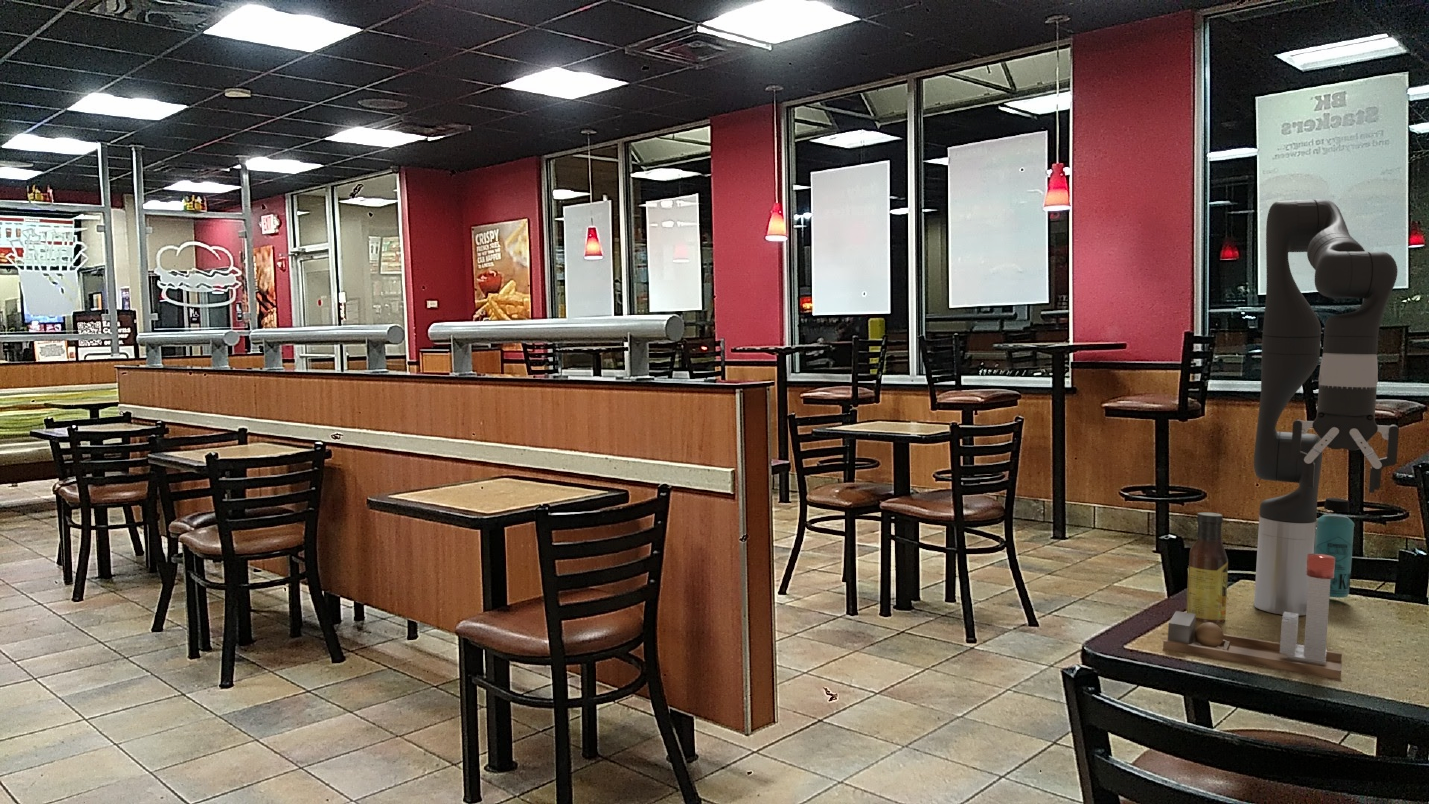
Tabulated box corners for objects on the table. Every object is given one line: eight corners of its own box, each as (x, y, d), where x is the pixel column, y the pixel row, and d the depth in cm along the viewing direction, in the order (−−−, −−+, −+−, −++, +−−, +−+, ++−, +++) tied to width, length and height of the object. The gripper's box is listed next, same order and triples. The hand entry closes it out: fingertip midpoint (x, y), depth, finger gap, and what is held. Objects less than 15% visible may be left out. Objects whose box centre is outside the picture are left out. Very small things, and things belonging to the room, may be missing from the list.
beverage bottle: (1303, 595, 198) (1309, 495, 196) (1337, 596, 198) (1344, 495, 196) (1321, 605, 192) (1328, 501, 190) (1357, 606, 191) (1364, 502, 190)
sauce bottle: (1229, 632, 174) (1236, 518, 172) (1190, 629, 175) (1197, 516, 173) (1218, 621, 180) (1225, 511, 179) (1181, 618, 181) (1187, 509, 180)
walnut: (1191, 642, 163) (1192, 618, 163) (1217, 643, 163) (1218, 619, 162) (1200, 650, 159) (1201, 625, 159) (1226, 652, 159) (1228, 627, 158)
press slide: (1328, 658, 155) (1335, 553, 154) (1327, 672, 149) (1334, 562, 148) (1281, 651, 159) (1288, 548, 157) (1278, 663, 153) (1285, 556, 151)
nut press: (1340, 669, 156) (1342, 634, 155) (1339, 689, 147) (1342, 652, 147) (1171, 641, 168) (1173, 609, 168) (1162, 657, 160) (1164, 624, 160)
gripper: (1403, 384, 153) (1395, 491, 154) (1294, 380, 161) (1288, 482, 162) (1405, 387, 147) (1397, 498, 148) (1292, 382, 154) (1285, 488, 156)
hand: (1340, 489), depth 155 cm, fingers open, 7 cm apart
